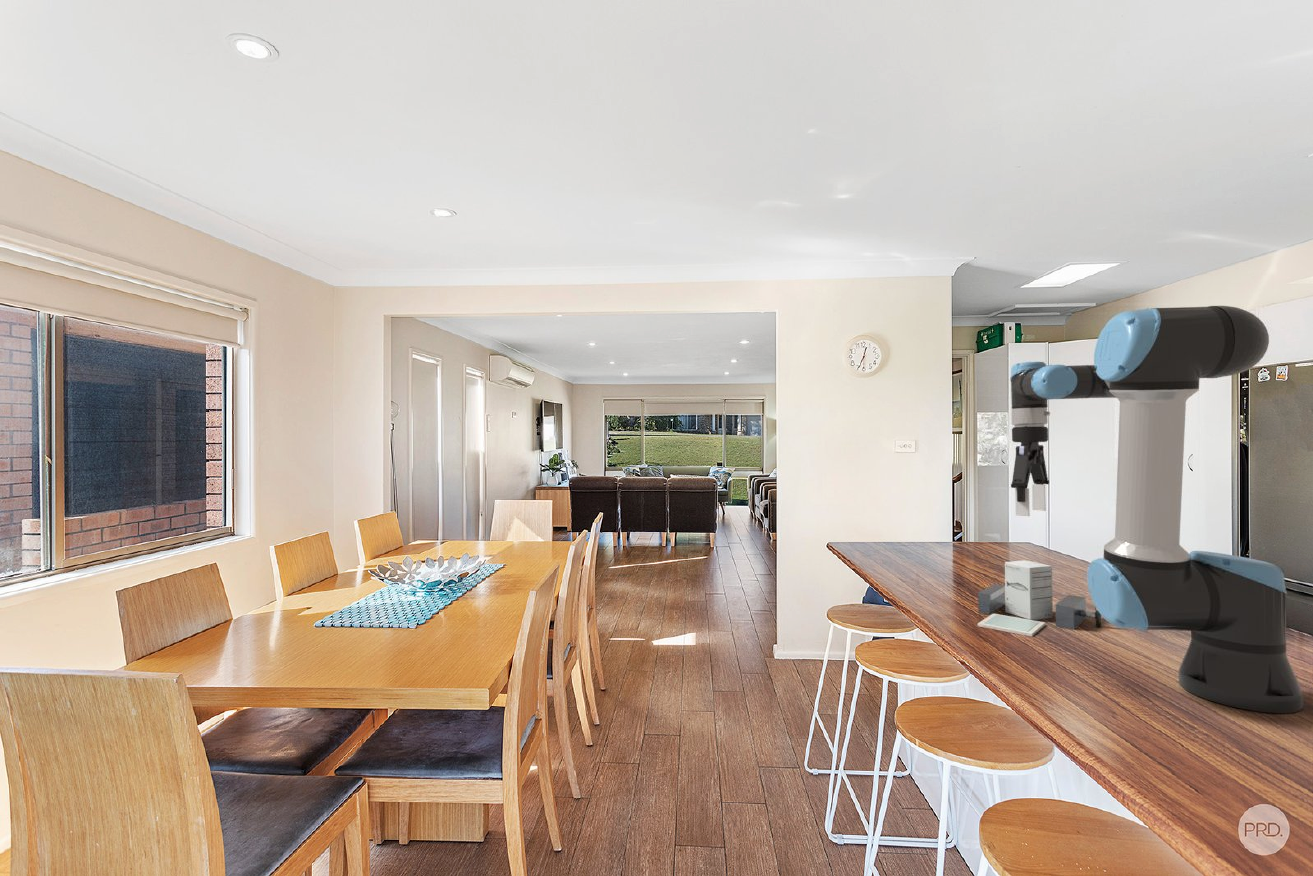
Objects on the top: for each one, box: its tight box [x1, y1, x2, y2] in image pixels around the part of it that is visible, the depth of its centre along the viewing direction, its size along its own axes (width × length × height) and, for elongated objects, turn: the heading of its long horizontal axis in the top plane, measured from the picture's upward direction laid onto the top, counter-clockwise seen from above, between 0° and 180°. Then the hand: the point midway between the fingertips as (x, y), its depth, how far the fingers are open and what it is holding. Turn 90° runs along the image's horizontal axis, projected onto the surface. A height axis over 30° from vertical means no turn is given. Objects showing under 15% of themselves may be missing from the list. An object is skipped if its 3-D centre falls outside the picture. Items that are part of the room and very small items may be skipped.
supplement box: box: [1004, 559, 1053, 621], centre depth 150 cm, size 7×7×13 cm
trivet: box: [977, 613, 1046, 637], centre depth 142 cm, size 11×11×1 cm
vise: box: [977, 583, 1102, 631], centre depth 148 cm, size 12×24×5 cm, turn 45°
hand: (1031, 513), depth 150 cm, fingers open, 13 cm apart
